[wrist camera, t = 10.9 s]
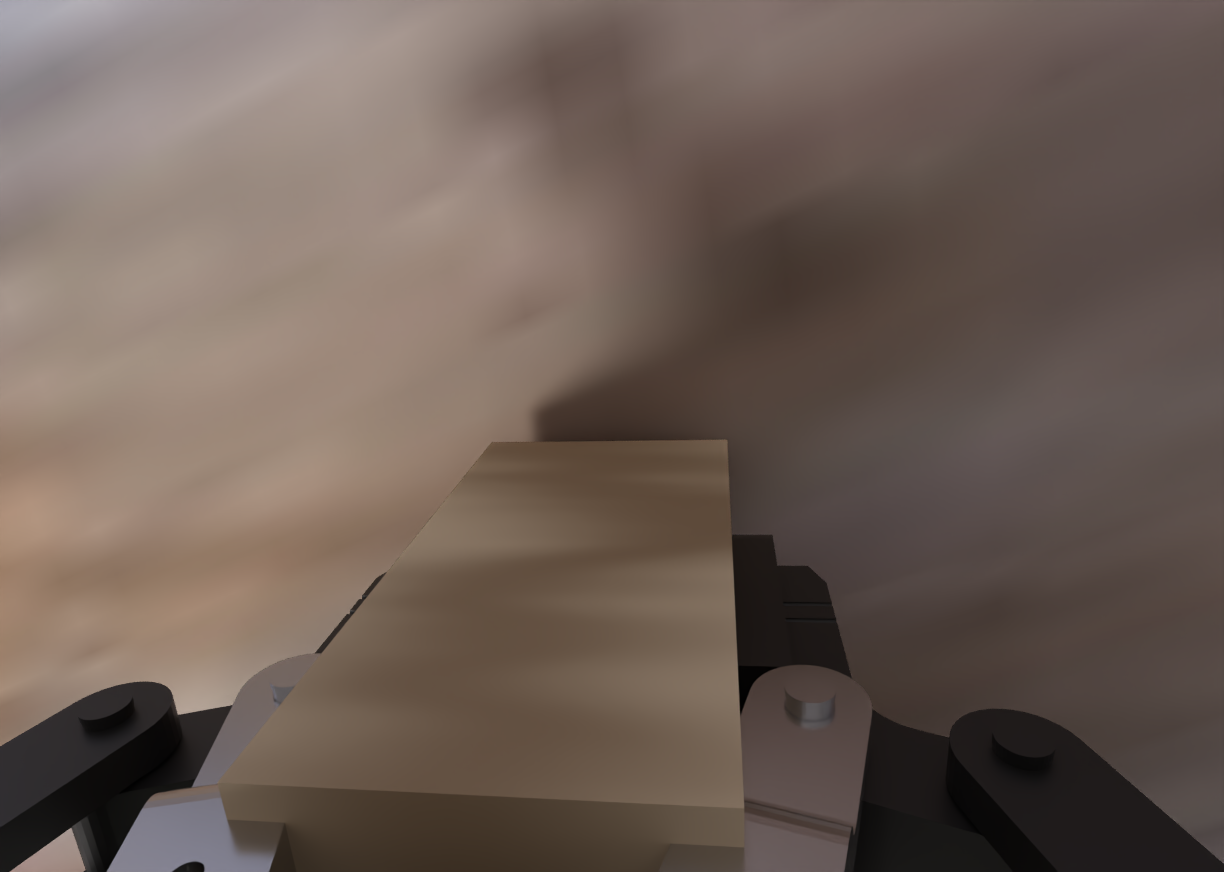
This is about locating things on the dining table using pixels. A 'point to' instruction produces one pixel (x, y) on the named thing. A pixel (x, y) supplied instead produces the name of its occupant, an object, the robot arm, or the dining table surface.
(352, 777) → the wooden mallet
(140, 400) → the dining table surface
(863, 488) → the dining table surface
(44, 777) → the robot arm
